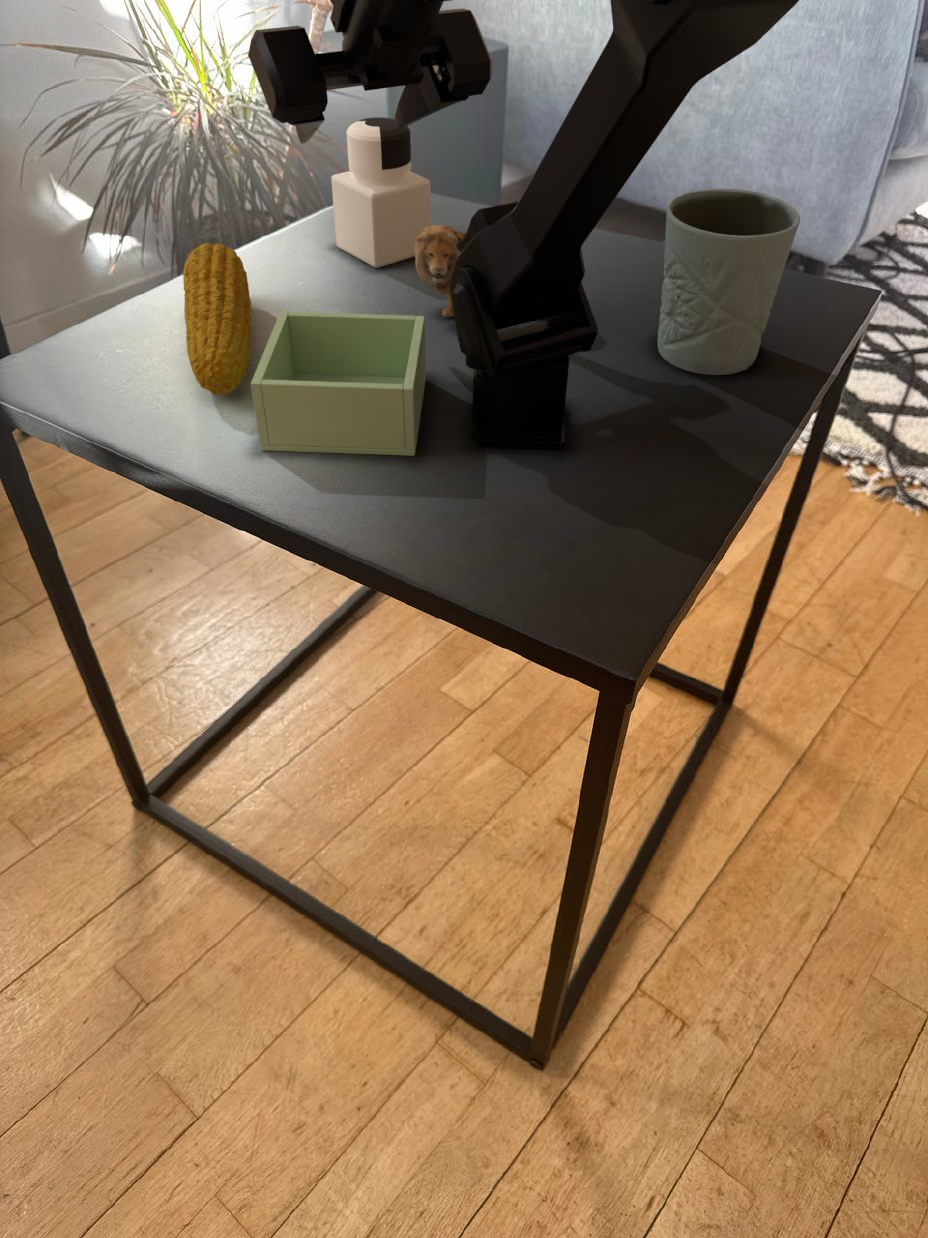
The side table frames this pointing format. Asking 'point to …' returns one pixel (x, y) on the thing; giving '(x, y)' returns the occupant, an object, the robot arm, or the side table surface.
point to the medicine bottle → (379, 194)
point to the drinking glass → (721, 276)
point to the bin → (341, 384)
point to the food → (217, 317)
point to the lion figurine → (438, 259)
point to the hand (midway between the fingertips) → (350, 130)
